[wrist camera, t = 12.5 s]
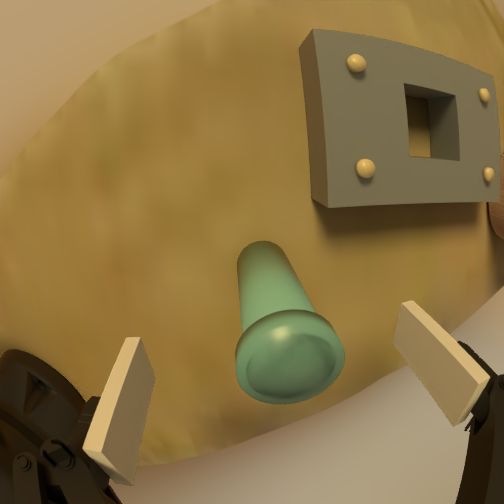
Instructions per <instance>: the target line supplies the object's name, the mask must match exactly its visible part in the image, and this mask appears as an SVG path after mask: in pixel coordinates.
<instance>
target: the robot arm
mask: <svg viewBox="0 0 504 504" xmlns="http://www.w3.org/2000/svg"><path fill="white" fill-rule="evenodd" d="M393 345H394V347H395V348H396V349H397V350H398V352H399V353H400V354H401V356H402V357H403V358H404V360H405V361H406V362H407V364H408V365H409V366H410V367H411V369H412V370H413V371H414V373H415V374H416V375H417V377H418V378H419V380H420V381H421V382H422V384H423V385H424V386H425V388H426V389H427V390H428V392H429V393H430V395H431V396H432V397H433V399H434V400H435V401H436V403H437V404H438V406H439V407H440V409H441V410H442V411H443V413H444V414H445V415H446V417H447V418H448V420H449V421H450V423H451V424H452V426H453V427H454V426H456V425H458V424H459V423H461V422H463V421H464V420H465V419H466V418H467V416H468V415H469V413H470V412H471V413H472V414H473V415H474V416H473V417H472V419H471V420H470V422H469V423H468V424H467V426H466V427H465V430H464V431H467V429H468V428H469V427H470V430H469V432H470V435H469V443H468V449H467V456H466V461H465V466H464V471H463V475H462V480H461V484H460V488H459V492H458V496H457V500H456V503H455V504H504V374H503V375H499V376H498V375H497V374H496V373H495V372H494V371H493V370H492V369H491V368H490V367H489V366H488V365H487V364H486V363H485V362H484V361H483V360H482V359H481V358H479V356H478V355H477V354H476V353H474V351H473V350H472V349H471V348H470V347H469V346H468V345H467V344H465V343H463V342H461V341H458V342H456V341H455V340H454V339H453V338H452V337H451V336H450V335H449V334H448V333H447V332H446V331H445V330H444V329H443V328H442V327H441V326H440V325H439V324H438V323H436V322H435V321H434V320H433V319H432V318H431V317H430V316H429V315H428V314H427V313H426V312H425V311H424V310H423V309H422V308H420V307H419V306H418V305H417V304H416V303H415V302H414V301H413V300H412V301H408V302H403V303H401V307H400V313H399V318H398V323H397V328H396V332H395V337H394V341H393ZM155 379H156V378H155V375H154V372H153V370H152V367H151V365H150V362H149V359H148V357H147V354H146V351H145V348H144V346H143V343H142V340H141V337H128V338H126V340H125V342H124V344H123V346H122V348H121V351H120V353H119V355H118V358H117V360H116V362H115V364H114V367H113V369H112V372H111V374H110V376H109V379H108V381H107V384H106V386H105V388H104V391H103V393H102V396H101V397H96V396H92V397H91V398H90V399H89V400H88V401H87V402H86V403H84V401H83V399H82V398H81V396H80V395H79V394H78V392H77V391H76V390H75V389H74V388H73V387H72V385H71V384H70V383H69V382H68V381H67V380H66V379H65V378H63V377H62V376H61V375H60V374H59V373H58V372H57V371H55V370H54V369H53V368H52V367H50V366H49V365H48V364H46V363H45V362H43V361H42V360H40V359H38V358H37V357H35V356H33V355H31V354H29V353H26V352H24V351H20V350H8V351H6V352H5V353H4V354H3V355H2V357H1V358H0V504H122V503H121V501H120V500H119V498H118V497H117V496H116V494H115V492H114V491H113V489H112V488H111V486H110V485H109V484H108V483H109V479H110V478H111V479H112V480H113V481H114V482H115V483H117V484H124V485H130V486H133V484H134V478H135V473H136V467H137V462H138V456H139V451H140V446H141V441H142V436H143V431H144V426H145V422H146V417H147V413H148V408H149V404H150V399H151V395H152V391H153V387H154V383H155ZM470 425H471V426H470Z"/></svg>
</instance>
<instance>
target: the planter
mask: <svg viewBox="0 0 504 504" xmlns="http://www.w3.org/2000/svg"><path fill="white" fill-rule="evenodd" d="M488 205H489V215H490V221H491V224H492V227H493V230H494V232H495V233H496V235H497V236H498V237H500V238H501V239H502V240H504V153H503V154H502V155H501V168H500V194H499V202H488Z"/></svg>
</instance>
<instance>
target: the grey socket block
mask: <svg viewBox="0 0 504 504" xmlns="http://www.w3.org/2000/svg"><path fill="white" fill-rule="evenodd" d="M299 54H300V62H301V70H302V79H303V88H304V98H305V108H306V120H307V132H308V146H309V161H310V180H311V198H312V199H314V200H316V201H317V202H319V203H321V204H322V205H324V206H326V207H327V208H337V207H352V206H370V205H390V204H414V203H449V202H499V194H500V168H501V156H500V130H499V117H498V108H497V99H496V92H495V86H494V80H493V76H491V75H489V74H487V73H485V72H483V71H480V70H478V69H476V68H474V67H471V66H469V65H466V64H464V63H461V62H459V61H456V60H454V59H451V58H448V57H446V56H443V55H440V54H437V53H434V52H431V51H428V50H424V49H421V48H418V47H414V46H410V45H407V44H403V43H399V42H395V41H391V40H386V39H381V38H377V37H372V36H366V35H360V34H354V33H347V32H340V31H332V30H322V29H312V30H311V32H310V33H309V34H308V36H307V37H306V39H305V40H304V41H303V43H302V44H301V46H300V47H299ZM405 95H407V96H412V97H417V98H423V99H427V104H428V114H429V126H430V145H431V157H417V156H409V135H408V120H407V108H406V99H405Z"/></svg>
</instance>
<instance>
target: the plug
mask: <svg viewBox="0 0 504 504" xmlns="http://www.w3.org/2000/svg"><path fill="white" fill-rule="evenodd" d="M237 273H238V286H239V299H240V312H241V324H242V336H241V337H240V339H239V341H238V343H237V347H236V352H235V357H236V376H237V380H238V383H239V385H240V387H241V388H242V389H243V390H244V391H245V392H246V393H247V394H248V395H249V396H251V397H252V398H254V399H256V400H259V401H261V402H265V403H270V404H292V403H297V402H301V401H304V400H307V399H309V398H312V397H314V396H316V395H318V394H319V393H321V392H322V391H324V390H325V389H327V388H328V387H329V386H330V385H331V384H332V383H333V382H334V381H335V380H336V378H337V377H338V376H339V374H340V372H341V370H342V368H343V365H344V360H345V353H344V348H343V345H342V343H341V341H340V340H339V338H338V336H337V334H336V332H335V331H334V329H333V327H332V325H331V324H330V323H329V322H328V321H327V320H326V319H325V318H324V317H322V316H321V315H319V314H317V313H316V312H315V310H314V308H313V306H312V305H311V303H310V301H309V299H308V297H307V295H306V293H305V291H304V289H303V287H302V285H301V283H300V281H299V279H298V278H297V276H296V274H295V272H294V270H293V268H292V266H291V264H290V262H289V260H288V259H287V257H286V255H285V253H284V251H283V250H282V249H281V248H280V247H279V246H278V245H276V244H274V243H272V242H269V241H258V242H254V243H252V244H250V245H248V246H247V247H245V248H244V249H243V251H242V252H241V253H240V255H239V257H238V261H237Z"/></svg>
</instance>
